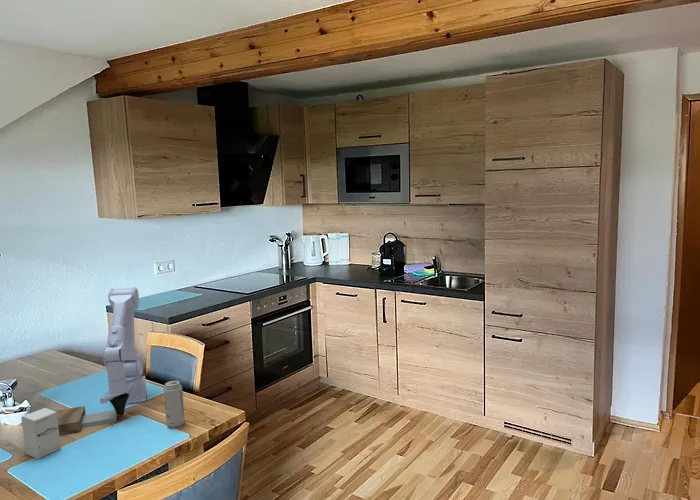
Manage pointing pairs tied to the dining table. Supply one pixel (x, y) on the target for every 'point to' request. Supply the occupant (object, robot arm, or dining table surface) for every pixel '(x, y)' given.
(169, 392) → the energy drink can
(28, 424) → the supplement box
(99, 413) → the slate tile
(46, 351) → the dining table surface
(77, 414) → the walnut shelf
